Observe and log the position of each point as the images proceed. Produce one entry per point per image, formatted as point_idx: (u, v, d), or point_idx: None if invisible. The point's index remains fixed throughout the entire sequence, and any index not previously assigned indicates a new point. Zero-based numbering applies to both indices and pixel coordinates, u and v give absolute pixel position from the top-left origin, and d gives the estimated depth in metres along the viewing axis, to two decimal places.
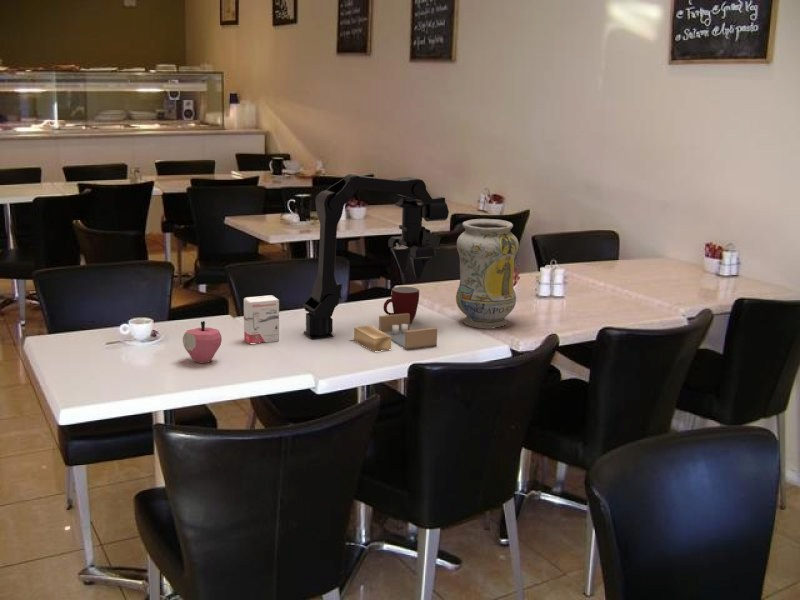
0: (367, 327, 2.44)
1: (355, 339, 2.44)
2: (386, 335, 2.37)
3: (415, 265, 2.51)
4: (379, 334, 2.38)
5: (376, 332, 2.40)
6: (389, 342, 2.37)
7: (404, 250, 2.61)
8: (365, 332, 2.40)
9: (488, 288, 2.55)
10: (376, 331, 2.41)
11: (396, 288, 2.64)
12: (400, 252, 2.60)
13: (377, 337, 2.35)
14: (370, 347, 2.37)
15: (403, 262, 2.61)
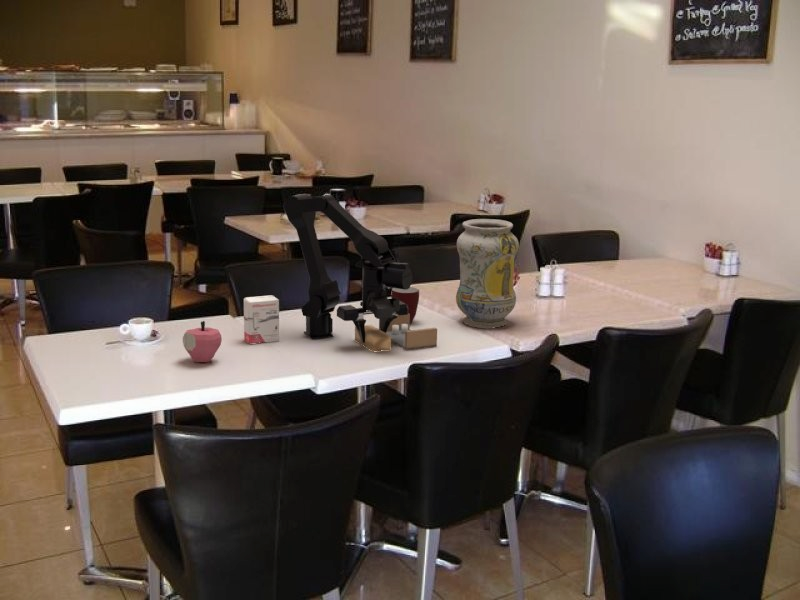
0: (368, 326, 2.44)
1: (356, 338, 2.44)
2: (386, 335, 2.37)
3: (355, 325, 2.40)
4: (379, 334, 2.38)
5: (376, 332, 2.40)
6: (389, 342, 2.36)
7: None
8: (365, 331, 2.40)
9: (488, 288, 2.55)
10: (376, 331, 2.41)
11: (395, 288, 2.64)
12: None
13: (376, 336, 2.35)
14: (369, 346, 2.37)
15: (382, 328, 2.41)
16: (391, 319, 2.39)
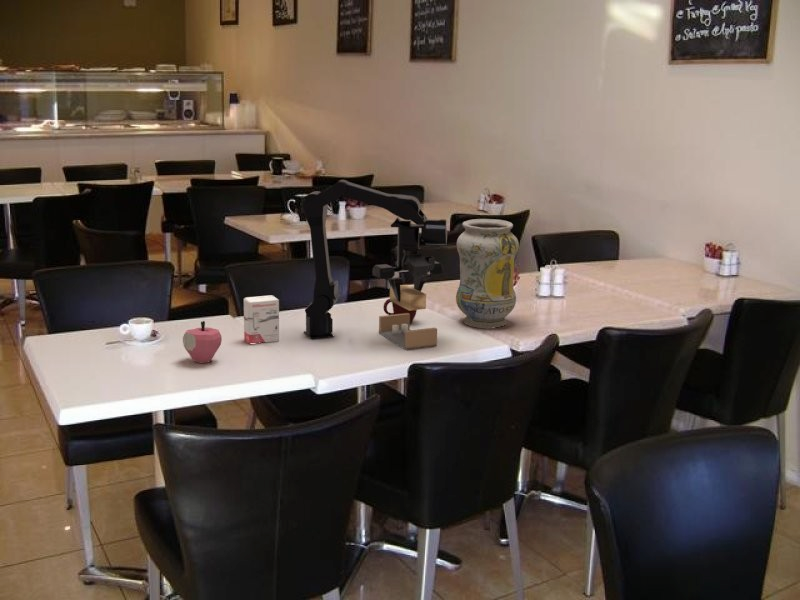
0: (403, 286, 2.47)
1: (391, 298, 2.47)
2: (421, 293, 2.40)
3: (391, 284, 2.42)
4: (414, 292, 2.40)
5: (411, 290, 2.42)
6: (424, 300, 2.39)
7: (419, 276, 2.43)
8: (400, 290, 2.43)
9: (488, 288, 2.55)
10: (412, 290, 2.43)
11: None
12: (416, 276, 2.44)
13: (412, 294, 2.38)
14: (405, 304, 2.39)
15: (417, 288, 2.44)
16: (426, 278, 2.42)
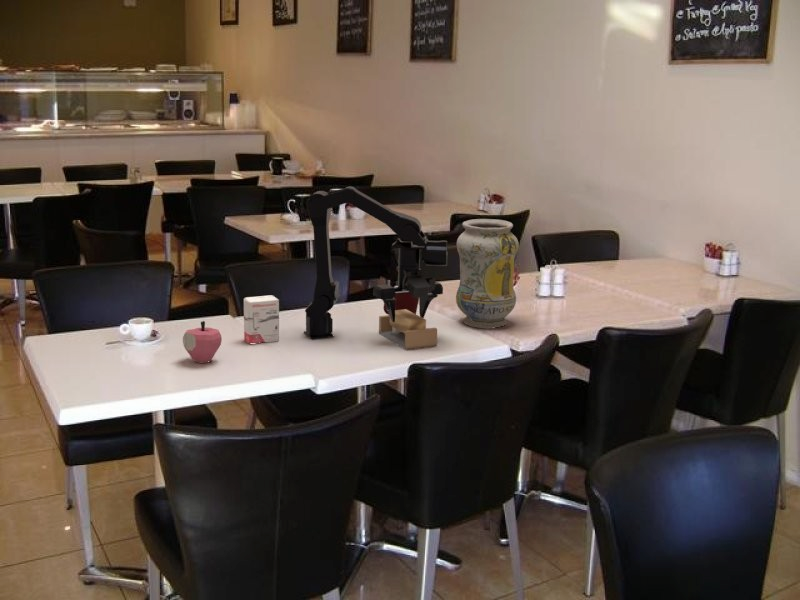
0: (403, 311, 2.49)
1: (391, 322, 2.49)
2: (421, 318, 2.42)
3: (385, 305, 2.43)
4: (414, 318, 2.42)
5: (411, 316, 2.44)
6: (424, 325, 2.41)
7: None
8: (400, 315, 2.45)
9: (488, 288, 2.55)
10: (411, 315, 2.45)
11: None
12: (422, 296, 2.47)
13: (412, 320, 2.40)
14: (405, 330, 2.41)
15: (422, 307, 2.47)
16: (431, 298, 2.44)
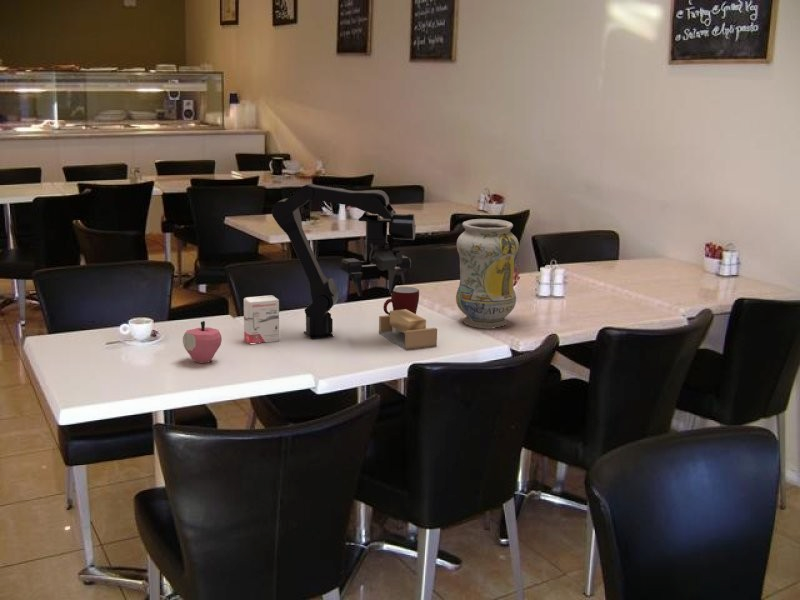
0: (403, 311, 2.49)
1: (391, 322, 2.49)
2: (421, 318, 2.42)
3: (352, 279, 2.42)
4: (414, 318, 2.42)
5: (411, 316, 2.44)
6: (424, 325, 2.41)
7: (393, 269, 2.44)
8: (400, 315, 2.45)
9: (488, 288, 2.55)
10: (411, 315, 2.45)
11: (395, 288, 2.64)
12: (391, 270, 2.45)
13: (412, 320, 2.40)
14: (405, 330, 2.41)
15: (391, 282, 2.45)
16: (400, 272, 2.43)
